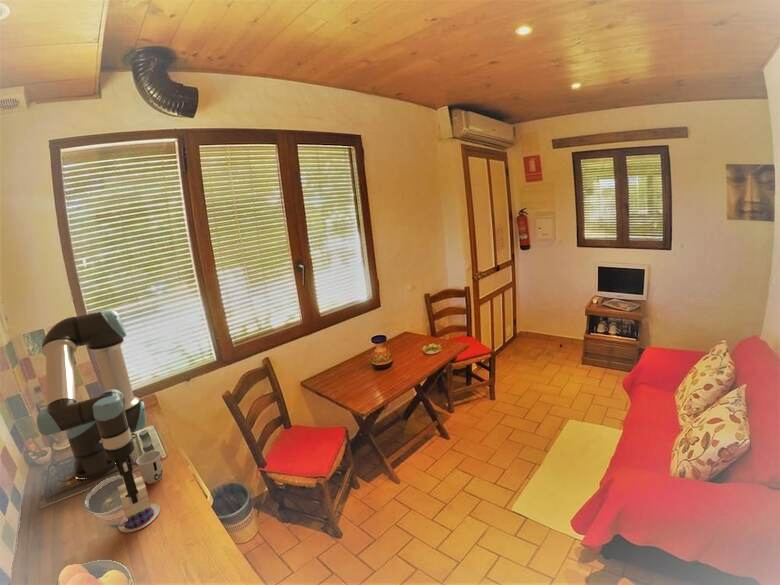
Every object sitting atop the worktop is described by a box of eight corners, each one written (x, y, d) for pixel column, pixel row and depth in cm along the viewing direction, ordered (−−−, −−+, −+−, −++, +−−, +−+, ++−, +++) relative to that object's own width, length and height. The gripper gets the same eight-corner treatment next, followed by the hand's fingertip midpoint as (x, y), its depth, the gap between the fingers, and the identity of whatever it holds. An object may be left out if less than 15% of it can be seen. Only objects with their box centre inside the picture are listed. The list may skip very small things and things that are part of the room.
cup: (158, 486, 143) (152, 463, 141) (137, 487, 143) (131, 464, 141) (170, 471, 151) (165, 449, 148) (150, 472, 151) (145, 450, 149)
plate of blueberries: (154, 499, 137) (151, 487, 135) (164, 517, 128) (161, 504, 127) (115, 520, 128) (111, 508, 127) (123, 540, 120) (119, 527, 119)
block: (122, 506, 127) (117, 487, 125) (146, 495, 132) (141, 476, 130) (126, 518, 122) (120, 498, 120) (150, 506, 127) (145, 486, 125)
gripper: (99, 433, 128) (115, 485, 133) (108, 467, 109) (126, 527, 114) (126, 423, 132) (140, 474, 137) (138, 454, 114) (154, 512, 119)
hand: (133, 498), depth 126 cm, fingers open, 13 cm apart
